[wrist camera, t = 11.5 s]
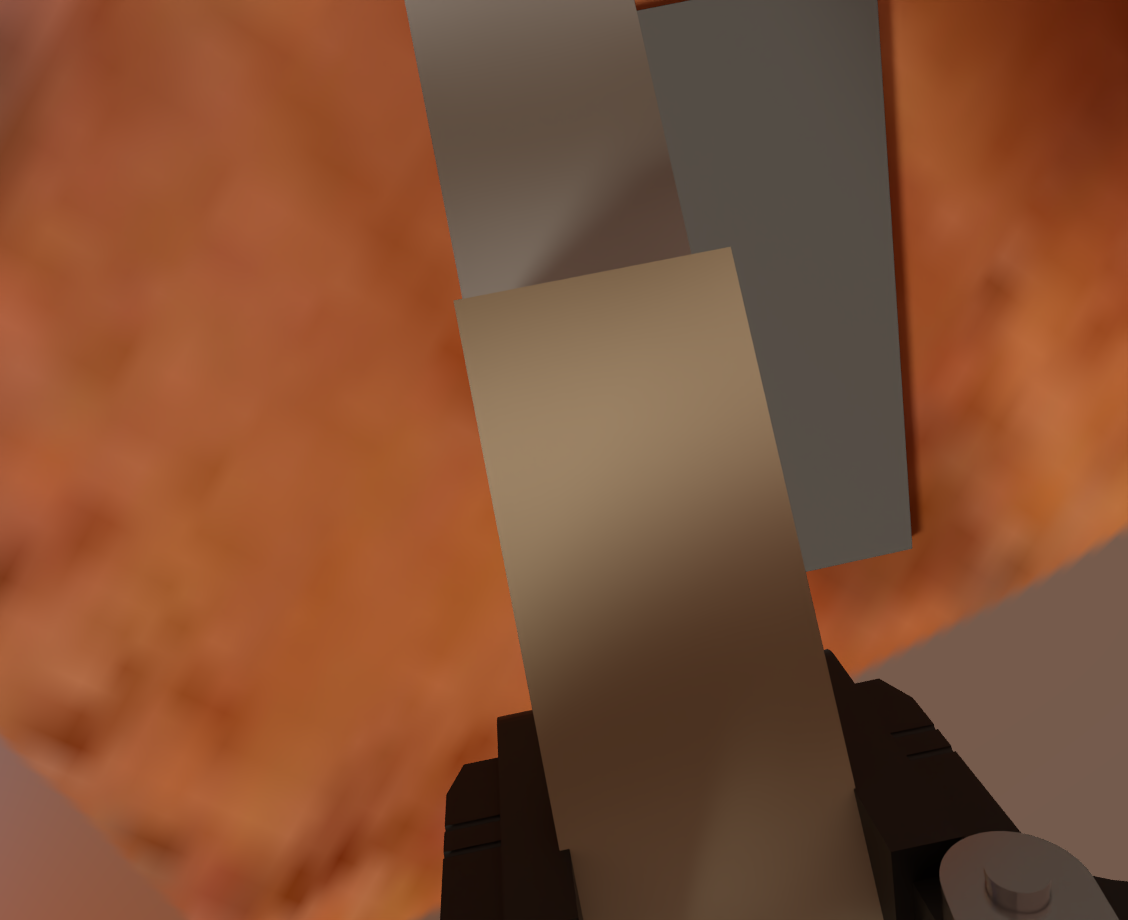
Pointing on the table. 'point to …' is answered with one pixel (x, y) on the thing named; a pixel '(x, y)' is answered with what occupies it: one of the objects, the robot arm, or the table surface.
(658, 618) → the stepped beige bar
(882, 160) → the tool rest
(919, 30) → the table surface
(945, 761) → the robot arm
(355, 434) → the table surface
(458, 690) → the table surface
